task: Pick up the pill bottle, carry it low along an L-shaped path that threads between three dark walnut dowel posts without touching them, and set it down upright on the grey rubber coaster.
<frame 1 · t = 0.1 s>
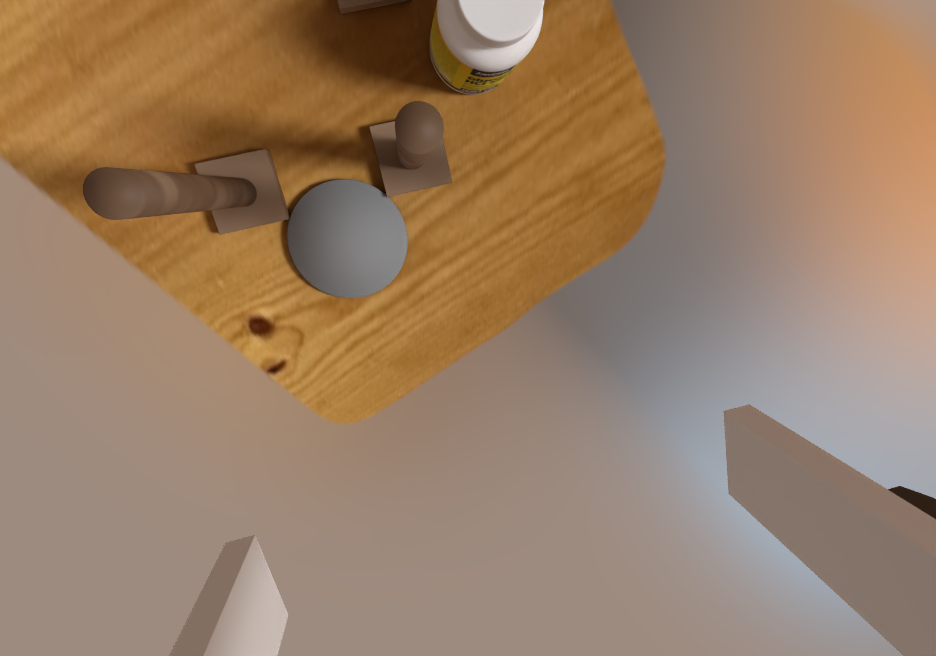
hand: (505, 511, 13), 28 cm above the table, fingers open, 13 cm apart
post b: (246, 192, 36), on the table
post corner: (411, 156, 37), on the table
pill bottle: (471, 50, 36), on the table
coaster: (349, 239, 38), on the table
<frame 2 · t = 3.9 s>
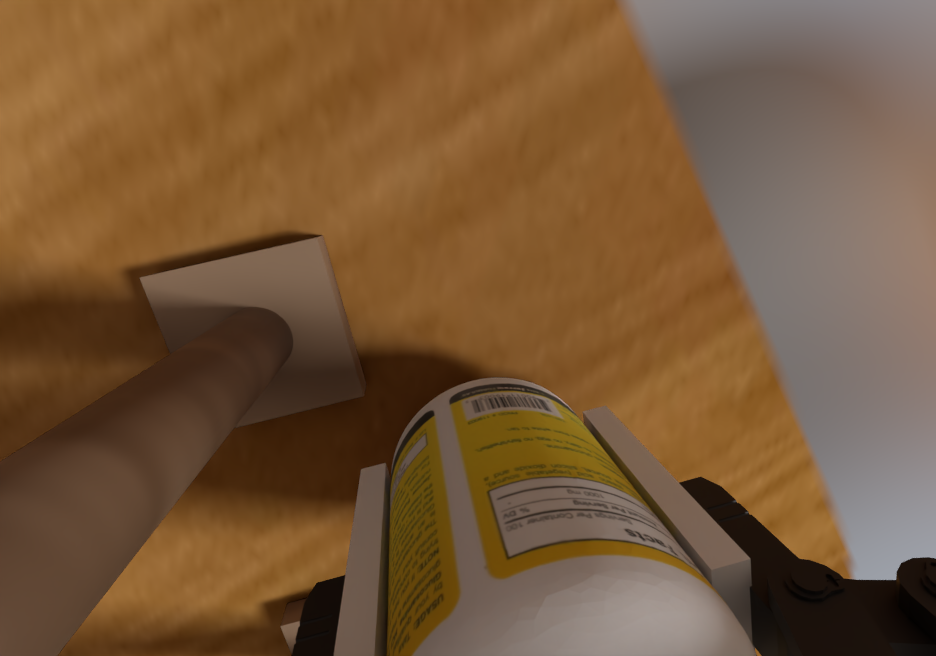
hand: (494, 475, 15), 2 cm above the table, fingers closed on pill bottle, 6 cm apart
post corner: (372, 637, 19), on the table
pill bottle: (489, 459, 15), point 2 cm above the table, touching gripper
post a: (267, 331, 15), on the table
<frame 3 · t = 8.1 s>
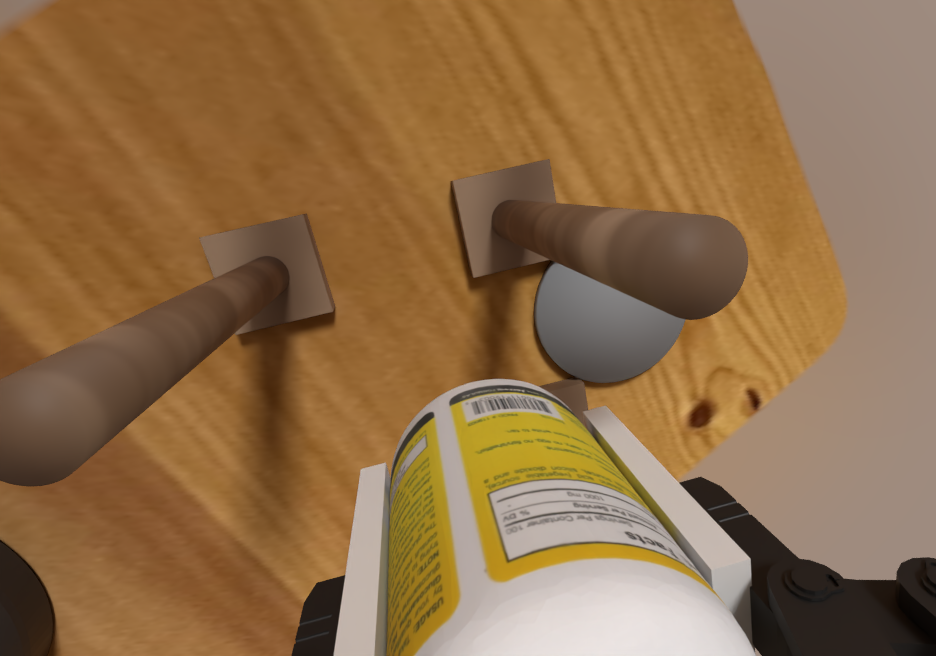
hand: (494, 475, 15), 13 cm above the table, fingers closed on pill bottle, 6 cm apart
post b: (544, 423, 30), on the table
post corner: (506, 218, 26), on the table
pill bottle: (489, 460, 15), point 13 cm above the table, touching gripper
post a: (273, 272, 25), on the table
coaster: (609, 306, 28), on the table
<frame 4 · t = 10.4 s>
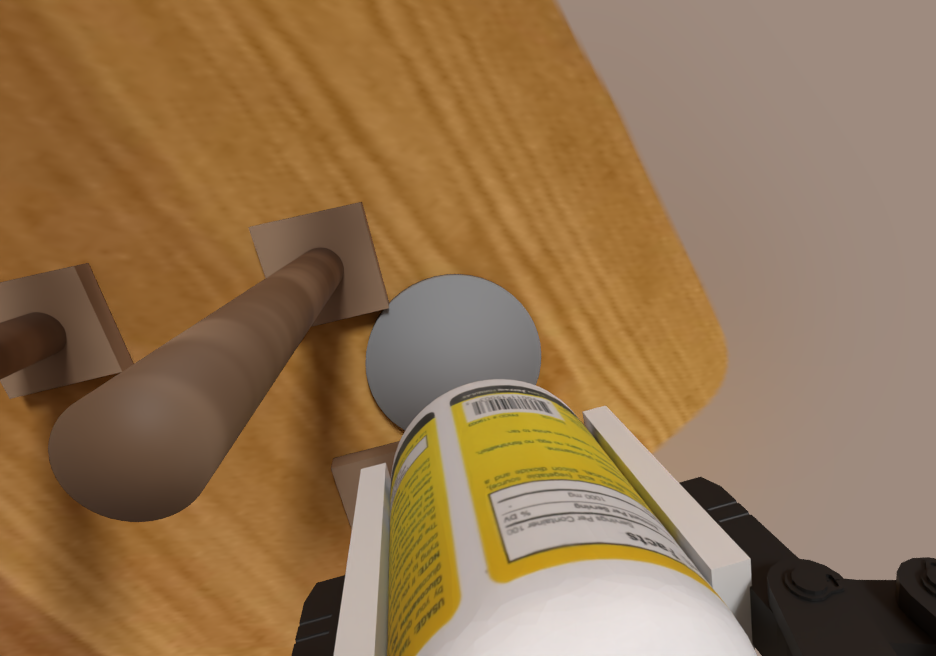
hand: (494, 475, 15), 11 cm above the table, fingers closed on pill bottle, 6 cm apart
post b: (391, 485, 27), on the table
post corner: (324, 266, 23), on the table
pill bottle: (490, 460, 15), point 10 cm above the table, touching gripper
post a: (56, 328, 22), on the table
coaster: (454, 359, 25), on the table
when the fingers open (2 cm above the table, at t = 12.2 s): pill bottle stays where it is, resting on coaster.
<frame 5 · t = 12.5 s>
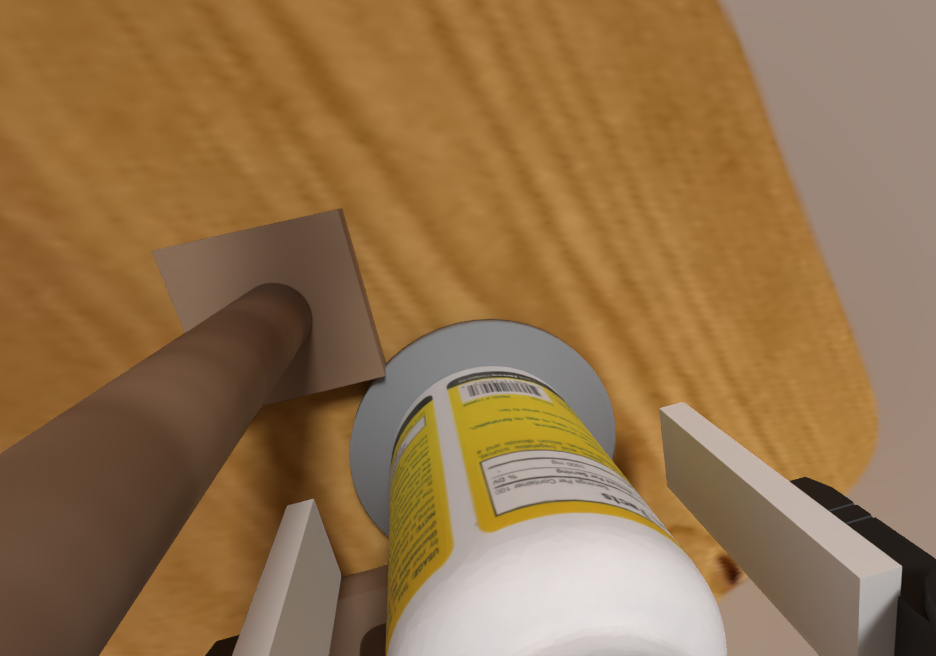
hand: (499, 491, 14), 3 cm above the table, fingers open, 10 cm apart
post b: (389, 621, 18), on the table
post corner: (284, 309, 15), on the table
pill bottle: (484, 444, 16), resting on coaster
coaster: (484, 444, 17), on the table
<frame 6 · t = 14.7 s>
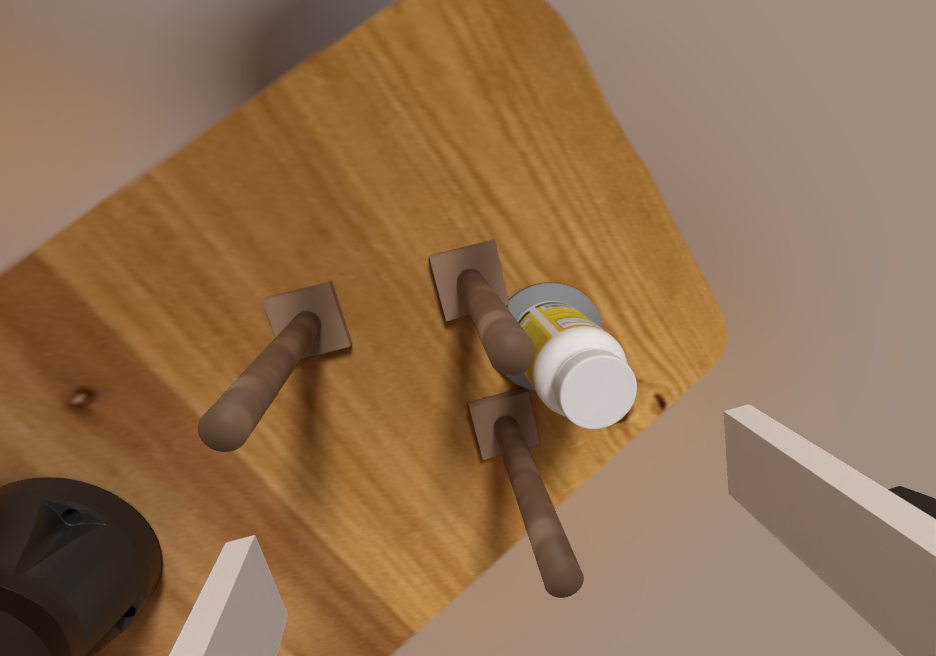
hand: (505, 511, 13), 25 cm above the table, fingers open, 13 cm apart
post b: (503, 421, 41), on the table
post corner: (468, 279, 37), on the table
pill bottle: (547, 335, 39), resting on coaster
post a: (310, 320, 37), on the table
coaster: (546, 337, 39), on the table
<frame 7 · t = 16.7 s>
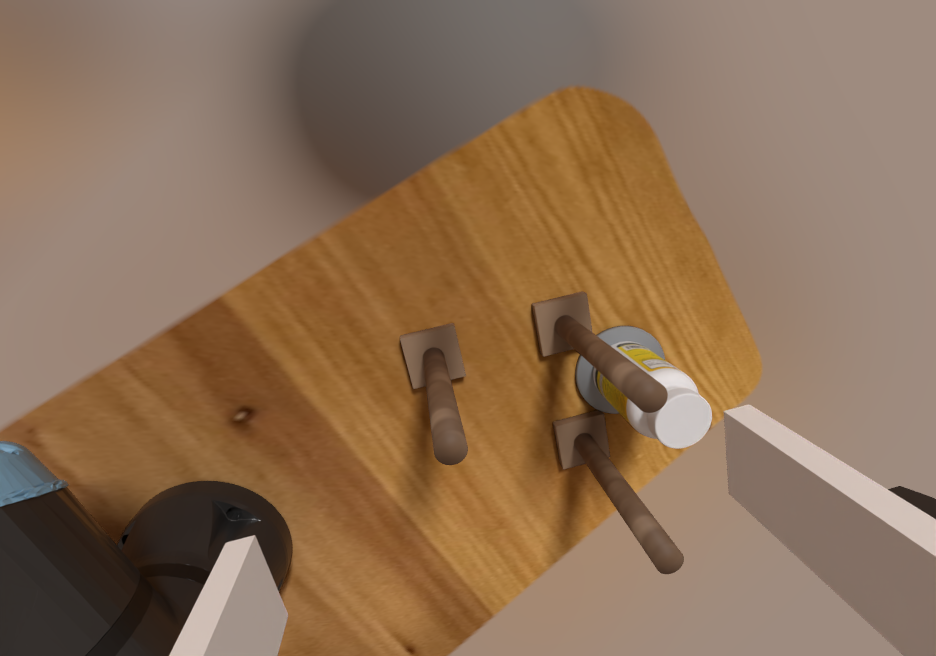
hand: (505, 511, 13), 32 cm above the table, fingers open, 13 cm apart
post b: (579, 437, 50), on the table
post corner: (561, 322, 46), on the table
pill bottle: (620, 368, 48), resting on coaster
post a: (432, 354, 45), on the table
coaster: (619, 369, 48), on the table
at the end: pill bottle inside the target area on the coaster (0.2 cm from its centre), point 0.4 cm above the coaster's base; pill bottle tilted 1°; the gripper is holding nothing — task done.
